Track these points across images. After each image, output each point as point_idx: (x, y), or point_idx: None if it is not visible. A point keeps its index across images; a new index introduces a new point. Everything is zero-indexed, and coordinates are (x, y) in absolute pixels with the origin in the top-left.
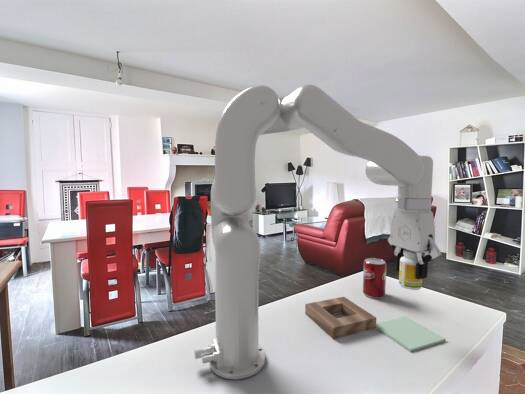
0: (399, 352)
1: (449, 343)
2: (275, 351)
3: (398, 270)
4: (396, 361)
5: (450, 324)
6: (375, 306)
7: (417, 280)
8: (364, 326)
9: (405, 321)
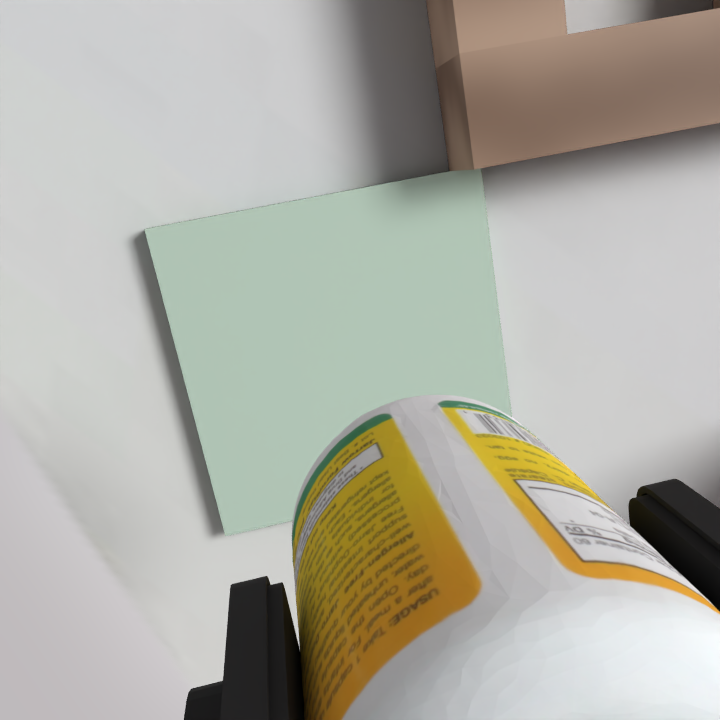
0: (152, 150)
1: (200, 533)
2: None
3: (633, 503)
4: (59, 60)
5: None
6: (710, 352)
7: (296, 592)
8: (442, 46)
9: None
